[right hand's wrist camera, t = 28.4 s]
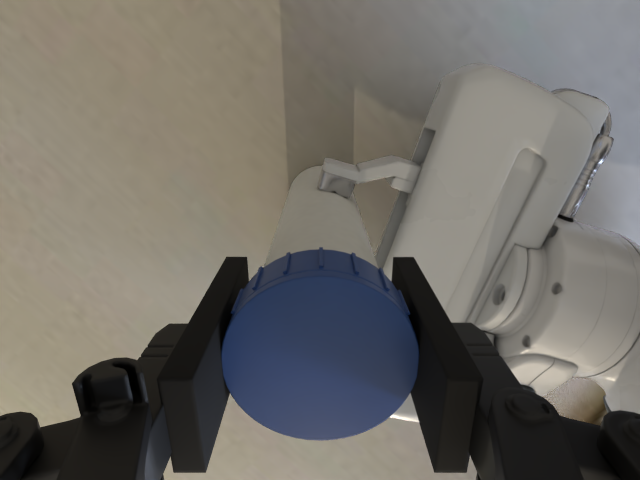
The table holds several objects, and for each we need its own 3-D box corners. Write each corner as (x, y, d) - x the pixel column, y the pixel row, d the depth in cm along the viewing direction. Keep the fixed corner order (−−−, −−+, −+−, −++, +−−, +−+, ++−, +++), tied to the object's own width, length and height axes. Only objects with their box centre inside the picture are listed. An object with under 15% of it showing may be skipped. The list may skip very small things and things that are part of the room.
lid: (197, 298, 12) (176, 334, 10) (358, 213, 11) (365, 235, 9) (289, 419, 14) (285, 467, 12) (435, 354, 13) (454, 396, 11)
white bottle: (330, 152, 27) (344, 241, 11) (365, 206, 28) (426, 358, 12) (275, 189, 28) (212, 323, 11) (312, 239, 29) (302, 423, 13)
